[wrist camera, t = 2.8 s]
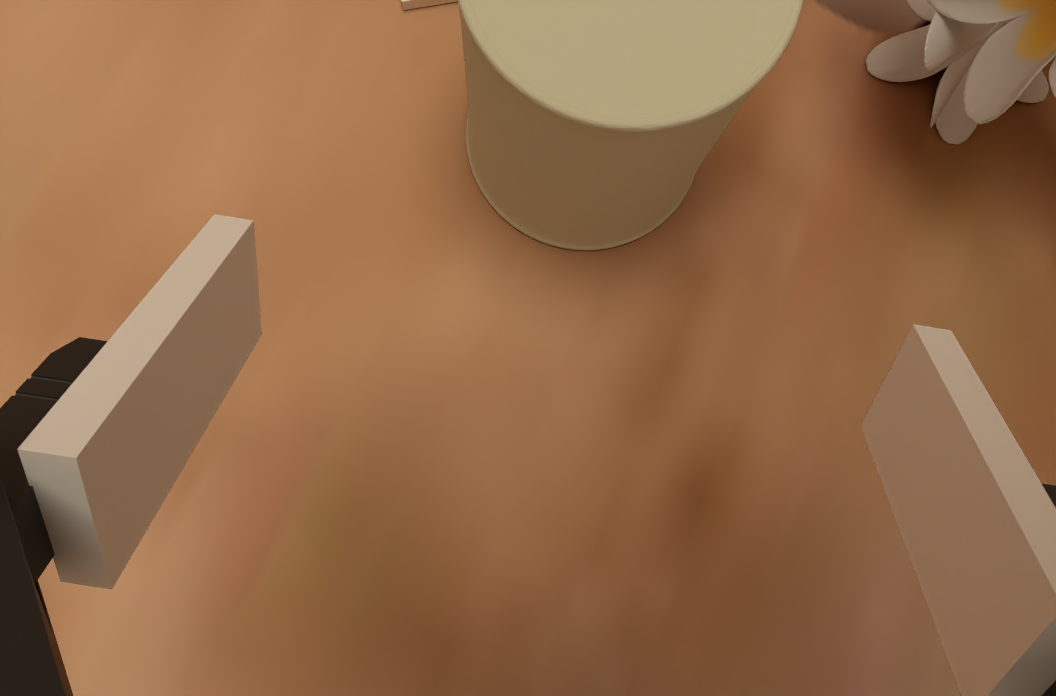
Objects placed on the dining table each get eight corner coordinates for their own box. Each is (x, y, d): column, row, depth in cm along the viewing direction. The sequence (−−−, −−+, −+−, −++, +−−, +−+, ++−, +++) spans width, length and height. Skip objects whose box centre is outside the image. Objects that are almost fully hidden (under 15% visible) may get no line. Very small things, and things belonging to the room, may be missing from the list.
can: (591, -16, 33) (645, -283, 21) (746, 149, 32) (891, -32, 21) (417, 125, 32) (371, -76, 20) (574, 299, 31) (621, 198, 19)
